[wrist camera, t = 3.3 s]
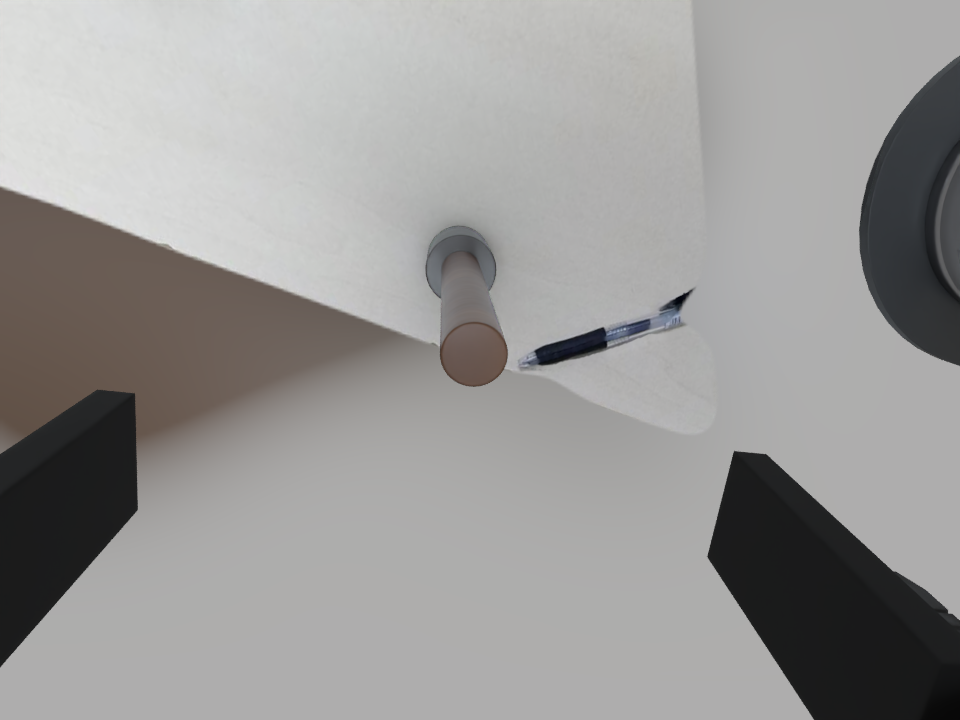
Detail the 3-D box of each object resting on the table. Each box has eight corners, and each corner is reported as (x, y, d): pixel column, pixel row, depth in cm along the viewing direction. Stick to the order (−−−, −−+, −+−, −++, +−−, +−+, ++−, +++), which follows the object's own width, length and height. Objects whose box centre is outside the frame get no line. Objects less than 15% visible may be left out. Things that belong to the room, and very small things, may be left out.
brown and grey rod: (494, 230, 42) (544, 302, 21) (485, 292, 43) (525, 418, 22) (431, 222, 42) (419, 287, 21) (424, 284, 43) (406, 406, 22)
